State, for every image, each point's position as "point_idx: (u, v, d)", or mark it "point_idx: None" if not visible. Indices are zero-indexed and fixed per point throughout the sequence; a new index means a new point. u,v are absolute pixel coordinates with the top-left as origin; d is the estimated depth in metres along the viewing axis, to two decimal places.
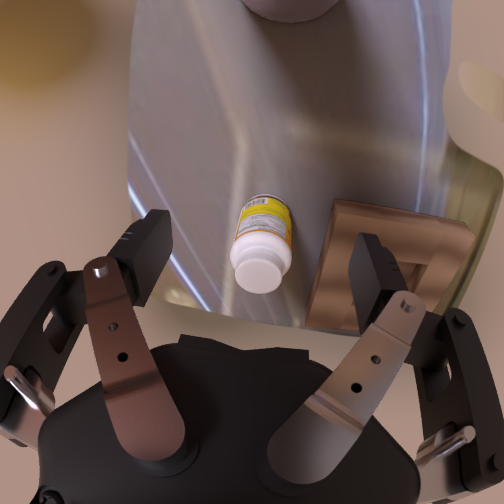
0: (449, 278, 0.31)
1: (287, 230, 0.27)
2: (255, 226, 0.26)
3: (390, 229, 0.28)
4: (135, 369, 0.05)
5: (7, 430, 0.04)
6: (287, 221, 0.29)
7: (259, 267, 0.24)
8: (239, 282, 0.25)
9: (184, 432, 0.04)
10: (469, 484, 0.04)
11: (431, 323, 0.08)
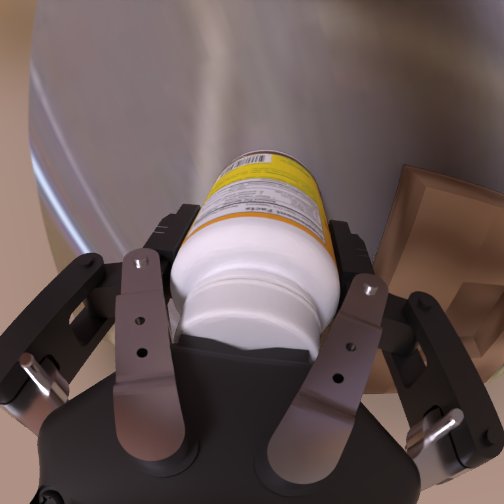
0: None
1: (323, 221, 0.10)
2: (238, 204, 0.09)
3: (503, 227, 0.11)
4: (152, 367, 0.05)
5: (13, 412, 0.05)
6: (319, 202, 0.12)
7: (246, 336, 0.07)
8: None
9: (183, 439, 0.04)
10: (467, 462, 0.04)
11: (396, 306, 0.08)
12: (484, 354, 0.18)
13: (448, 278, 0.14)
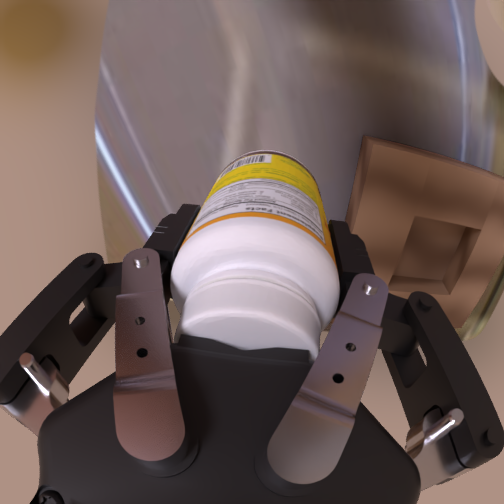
0: (502, 250, 0.22)
1: (323, 221, 0.10)
2: (239, 204, 0.09)
3: (439, 173, 0.19)
4: (151, 366, 0.05)
5: (13, 412, 0.05)
6: (319, 202, 0.12)
7: (247, 335, 0.07)
8: None
9: (183, 439, 0.04)
10: (467, 462, 0.04)
11: (395, 306, 0.08)
12: (452, 291, 0.25)
13: (401, 211, 0.21)
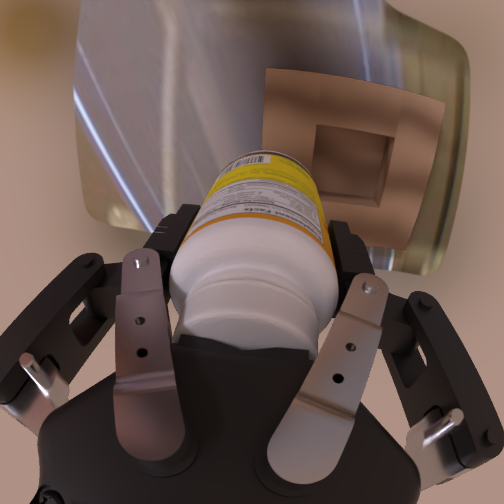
0: (428, 161, 0.25)
1: (322, 222, 0.10)
2: (237, 205, 0.09)
3: (332, 85, 0.23)
4: (151, 366, 0.05)
5: (13, 412, 0.05)
6: (318, 203, 0.12)
7: (245, 336, 0.07)
8: None
9: (183, 439, 0.04)
10: (467, 462, 0.04)
11: (396, 306, 0.08)
12: (380, 204, 0.29)
13: (303, 121, 0.25)
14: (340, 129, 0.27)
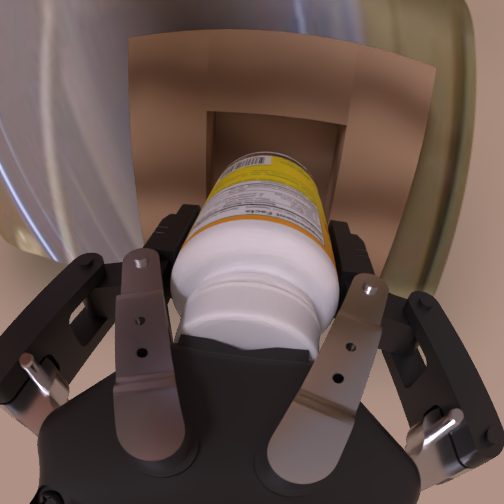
0: (408, 166, 0.16)
1: (323, 223, 0.10)
2: (238, 206, 0.09)
3: (228, 46, 0.13)
4: (151, 366, 0.05)
5: (13, 412, 0.05)
6: (318, 204, 0.12)
7: (246, 338, 0.07)
8: None
9: (182, 439, 0.04)
10: (467, 462, 0.04)
11: (396, 306, 0.08)
12: None
13: (185, 109, 0.15)
14: (258, 118, 0.18)
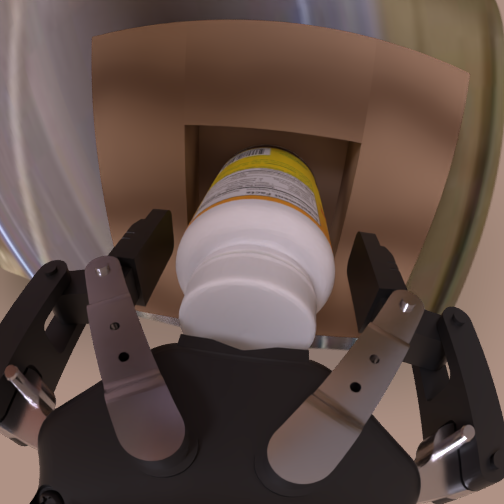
0: (433, 193, 0.13)
1: (319, 207, 0.11)
2: (240, 189, 0.10)
3: (210, 41, 0.10)
4: (136, 369, 0.05)
5: (7, 429, 0.04)
6: (315, 191, 0.12)
7: (248, 304, 0.07)
8: None
9: (184, 432, 0.04)
10: (469, 483, 0.04)
11: (429, 322, 0.08)
12: None
13: (158, 122, 0.12)
14: (251, 131, 0.15)
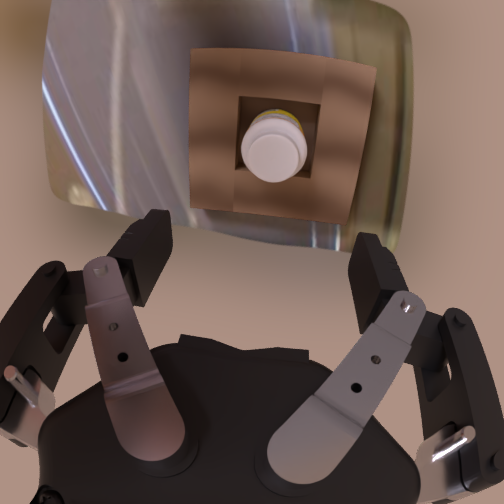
0: (361, 128, 0.26)
1: (300, 128, 0.25)
2: (268, 117, 0.23)
3: (252, 58, 0.23)
4: (135, 369, 0.05)
5: (7, 430, 0.04)
6: (299, 125, 0.26)
7: (274, 144, 0.21)
8: (252, 167, 0.22)
9: (184, 432, 0.04)
10: (469, 484, 0.04)
11: (431, 323, 0.08)
12: (311, 174, 0.30)
13: (225, 94, 0.26)
14: (268, 102, 0.28)
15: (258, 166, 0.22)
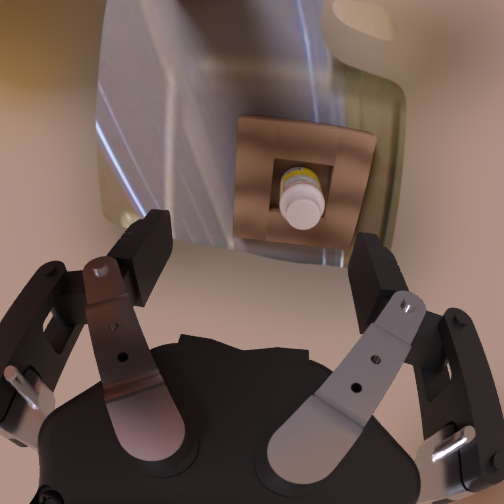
0: (363, 182, 0.38)
1: (319, 187, 0.36)
2: (298, 181, 0.34)
3: (285, 130, 0.35)
4: (135, 368, 0.05)
5: (7, 430, 0.04)
6: (318, 182, 0.37)
7: (304, 206, 0.32)
8: (289, 219, 0.34)
9: (184, 432, 0.04)
10: (469, 484, 0.04)
11: (431, 323, 0.08)
12: (325, 215, 0.41)
13: (264, 156, 0.37)
14: (294, 159, 0.39)
15: (293, 219, 0.34)
